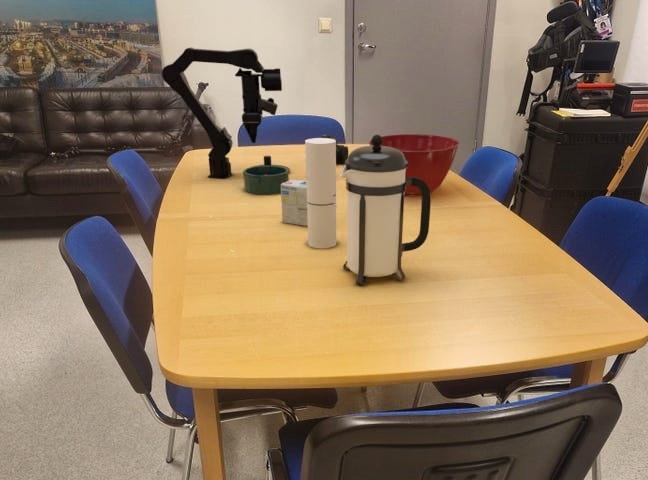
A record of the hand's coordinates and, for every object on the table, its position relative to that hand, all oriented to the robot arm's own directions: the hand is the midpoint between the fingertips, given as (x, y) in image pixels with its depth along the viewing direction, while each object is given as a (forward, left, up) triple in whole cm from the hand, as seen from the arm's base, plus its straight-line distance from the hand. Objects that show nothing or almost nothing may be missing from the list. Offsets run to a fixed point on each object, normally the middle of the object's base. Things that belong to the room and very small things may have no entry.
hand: (254, 140), depth 215 cm
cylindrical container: (+43, -63, -12) cm, 77 cm away
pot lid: (+2, +6, -11) cm, 13 cm away
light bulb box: (+33, -47, -12) cm, 59 cm away
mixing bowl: (+56, -5, -12) cm, 58 cm away
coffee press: (+61, -79, -12) cm, 101 cm away
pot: (+10, -16, -12) cm, 22 cm away
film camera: (+20, +27, -12) cm, 36 cm away
